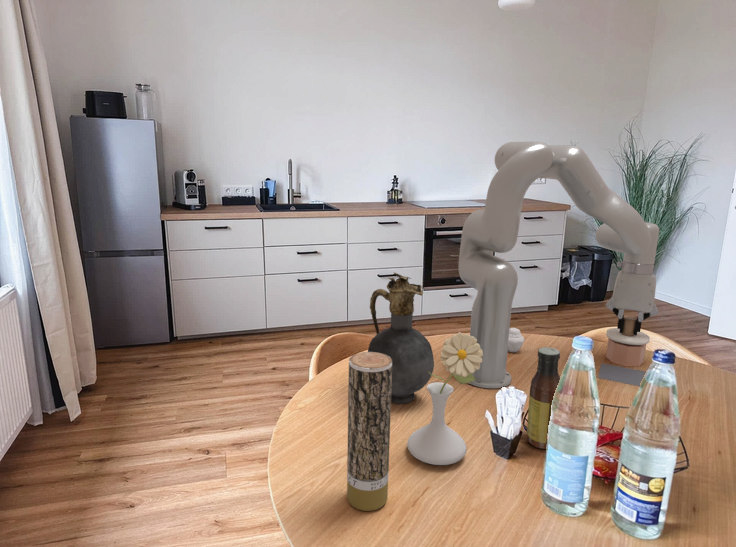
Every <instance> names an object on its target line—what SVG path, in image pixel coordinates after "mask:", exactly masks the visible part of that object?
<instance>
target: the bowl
mask: <svg viewBox="0 0 736 547" xmlns="http://www.w3.org/2000/svg"><path fill="white" fill-rule="evenodd" d="M646 347H647V344H644V345H630V344H624V343H620V342H617V341H614V340H611V339H610V338H608V339H607V346H606V353H605V354H606V355H605V358H606V359H608V360H609V361H610V363H614V364H617V365H619V366H622V367H640V366H641V365H643V364H644V360H645V355H646V354H645V353H646V349H647V348H646Z"/></svg>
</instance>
